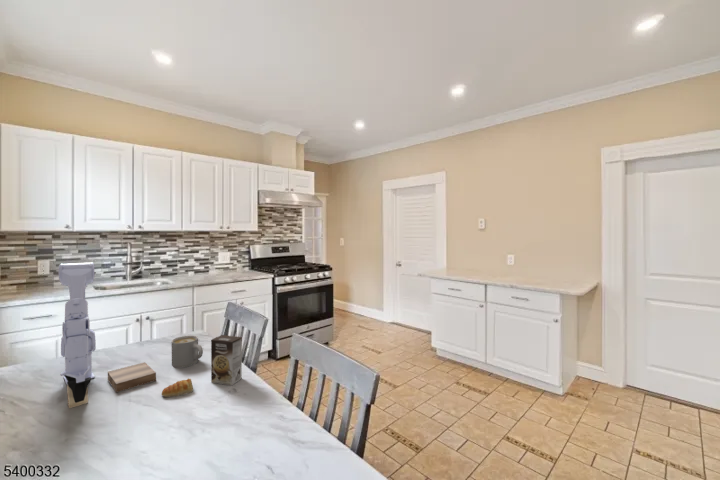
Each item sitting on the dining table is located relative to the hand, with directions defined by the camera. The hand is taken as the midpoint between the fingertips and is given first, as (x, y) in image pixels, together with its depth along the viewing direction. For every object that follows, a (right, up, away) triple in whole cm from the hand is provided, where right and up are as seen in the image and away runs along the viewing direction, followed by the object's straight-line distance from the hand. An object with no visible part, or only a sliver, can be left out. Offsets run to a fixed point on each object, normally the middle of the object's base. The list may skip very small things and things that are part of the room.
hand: (77, 397), depth 104 cm
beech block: (0, -2, 0) cm, 2 cm away
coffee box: (+42, -2, +16) cm, 45 cm away
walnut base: (+6, -1, +16) cm, 17 cm away
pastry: (+29, -2, +8) cm, 30 cm away
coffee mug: (+19, -1, +31) cm, 37 cm away
